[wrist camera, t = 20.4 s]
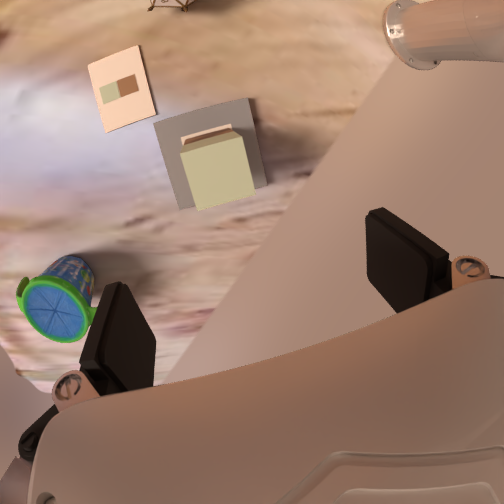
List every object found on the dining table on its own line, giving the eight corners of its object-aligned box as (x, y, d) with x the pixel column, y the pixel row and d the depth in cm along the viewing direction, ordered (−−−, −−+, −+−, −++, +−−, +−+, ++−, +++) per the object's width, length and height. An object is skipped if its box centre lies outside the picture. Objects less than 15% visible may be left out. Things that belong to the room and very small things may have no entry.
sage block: (233, 131, 30) (242, 136, 25) (245, 179, 33) (255, 194, 27) (182, 145, 30) (180, 153, 24) (196, 192, 32) (197, 211, 27)
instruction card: (138, 45, 29) (137, 44, 29) (156, 114, 34) (155, 114, 33) (88, 65, 29) (87, 65, 28) (106, 132, 33) (105, 133, 33)
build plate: (246, 97, 35) (247, 97, 34) (265, 183, 41) (267, 185, 40) (154, 122, 34) (153, 123, 33) (180, 207, 40) (179, 210, 39)
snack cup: (122, 254, 42) (106, 294, 33) (118, 310, 46) (106, 354, 37) (32, 236, 37) (1, 269, 28) (36, 291, 41) (13, 329, 32)
